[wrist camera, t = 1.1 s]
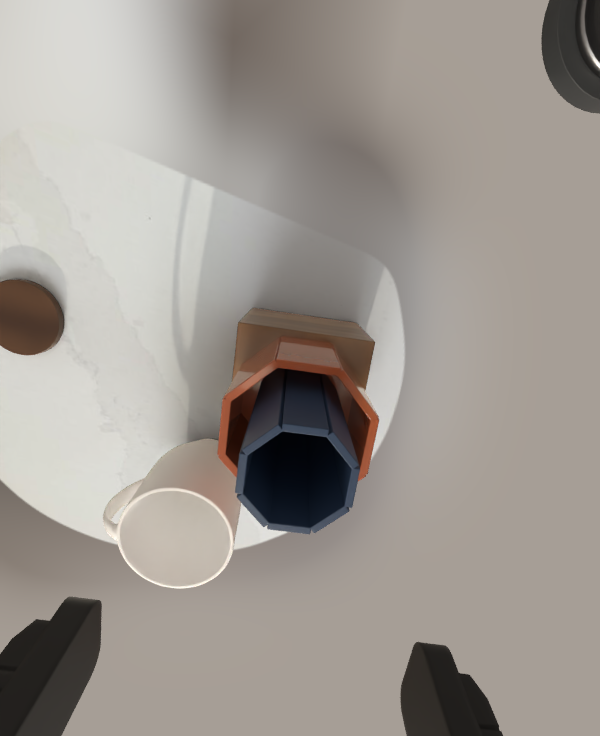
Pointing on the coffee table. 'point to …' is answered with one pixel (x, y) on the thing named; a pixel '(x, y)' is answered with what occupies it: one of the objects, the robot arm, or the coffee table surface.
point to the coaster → (28, 317)
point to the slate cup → (297, 454)
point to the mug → (178, 517)
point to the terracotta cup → (300, 358)
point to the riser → (304, 337)
